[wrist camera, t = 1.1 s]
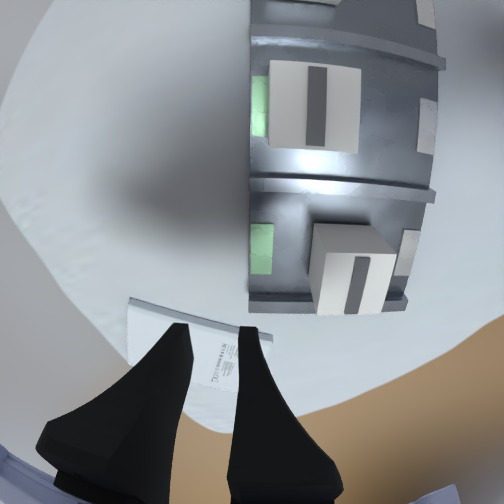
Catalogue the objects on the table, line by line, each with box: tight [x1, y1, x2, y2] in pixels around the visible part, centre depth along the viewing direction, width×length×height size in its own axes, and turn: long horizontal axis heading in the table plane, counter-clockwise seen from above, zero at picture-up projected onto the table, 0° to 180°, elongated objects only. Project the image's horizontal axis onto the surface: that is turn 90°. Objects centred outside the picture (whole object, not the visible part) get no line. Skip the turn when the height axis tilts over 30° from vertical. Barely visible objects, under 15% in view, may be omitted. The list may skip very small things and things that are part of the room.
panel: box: [249, 0, 446, 314], centre depth 15 cm, size 12×27×2 cm, turn 0°
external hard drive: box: [127, 298, 273, 393], centre depth 25 cm, size 2×8×12 cm
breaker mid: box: [268, 60, 361, 154], centre depth 13 cm, size 4×4×4 cm
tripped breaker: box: [308, 223, 397, 315], centre depth 17 cm, size 4×4×4 cm
